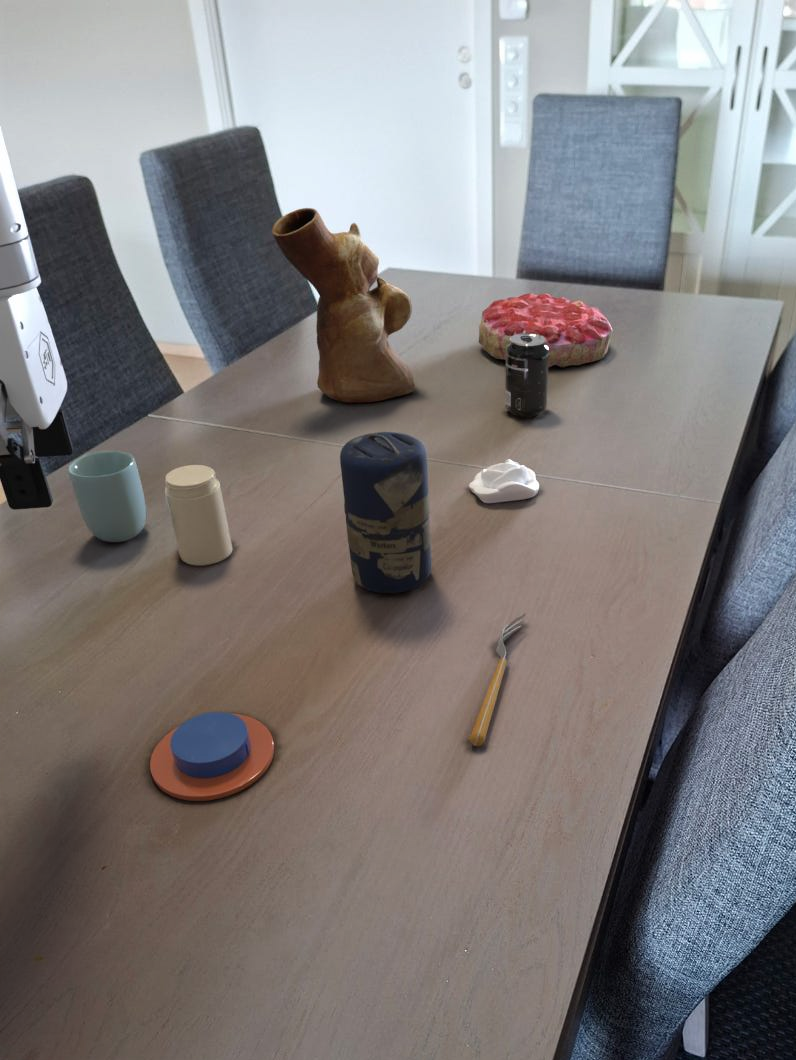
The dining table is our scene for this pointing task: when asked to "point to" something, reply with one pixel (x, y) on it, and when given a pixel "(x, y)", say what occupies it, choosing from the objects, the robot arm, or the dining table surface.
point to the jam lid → (210, 744)
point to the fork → (492, 688)
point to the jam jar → (198, 515)
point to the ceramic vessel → (348, 309)
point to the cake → (547, 327)
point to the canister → (387, 510)
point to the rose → (505, 483)
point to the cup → (109, 494)
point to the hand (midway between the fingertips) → (44, 479)
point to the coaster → (219, 786)
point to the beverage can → (526, 375)
